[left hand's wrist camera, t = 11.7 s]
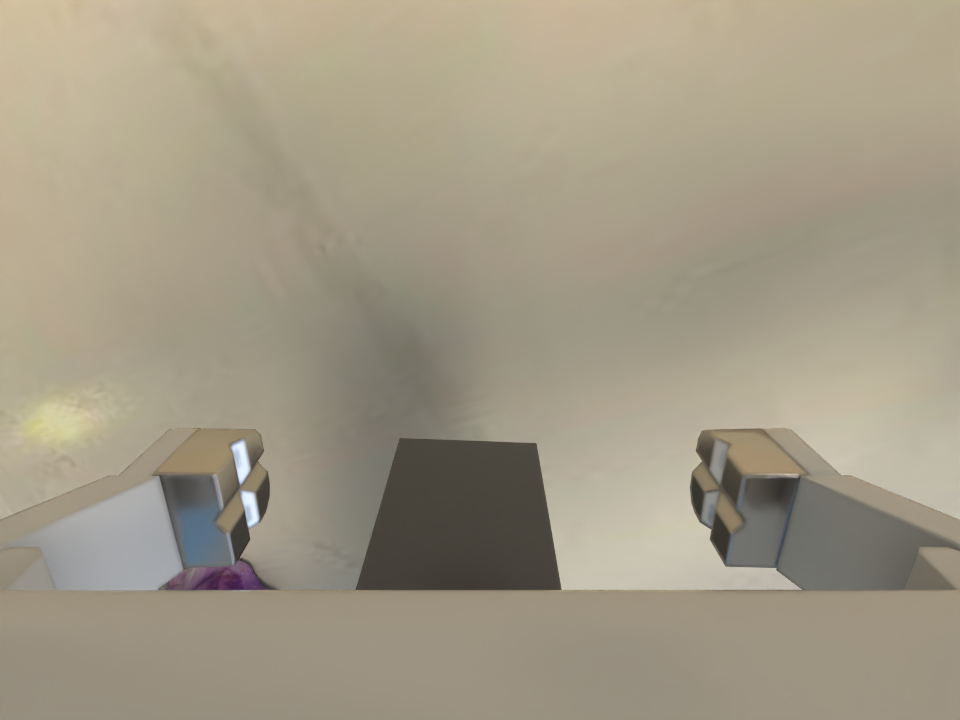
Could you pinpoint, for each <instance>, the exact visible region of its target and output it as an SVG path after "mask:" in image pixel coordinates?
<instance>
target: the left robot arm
mask: <svg viewBox="0 0 960 720" xmlns="http://www.w3.org/2000/svg"><path fill="white" fill-rule="evenodd" d="M263 452H264V448H263V443H262V438H261V435H260V434H259V433H258V431H257V430H256V429H201V428H179V429H169V430H168V431H167V432H166V433H165V434H164V435H162V436H161V437H160V438H159V439H158V440H157V441H156V442H155V443H154V444H153V445H151V446H150V447H149V448H148V449H147V450H146V451H145V452H144V453H143V454H142V455H140V456H139V457H138V458H137V459H136V460H135V461H134V462H133V463H132V464H131V465H130V466H128V467H127V468H126V469H125V470H124V471H123V472H122V473H121V474H120V475H119V476H107V477H105V478H102V479H100V480H97V481H95V482H92V483H90V484H87V485H85V486H82V487H80V488H78V489H75V490H73V491H70V492H68V493H65V494H63V495H60V496H58V497H55V498H53V499H50V500H48V501H45V502H43V503H40V504H38V505H35V506H33V507H31V508H28V509H26V510H23V511H21V512H18V513H16V514H13V515H11V516H8V517H6V518H3V519H1V520H0V720H960V520H959V519H956V518H954V517H951V516H949V515H947V514H944V513H942V512H939V511H937V510H934V509H932V508H929V507H927V506H924V505H922V504H919V503H917V502H914V501H912V500H910V499H907V498H905V497H902V496H900V495H897V494H895V493H892V492H890V491H887V490H885V489H882V488H880V487H877V486H875V485H873V484H870V483H868V482H865V481H863V480H860V479H858V478H855V477H853V476H842V475H840V474H839V473H838V472H837V471H836V470H835V469H834V468H833V467H832V466H831V465H829V464H828V463H827V462H826V461H825V460H824V459H823V458H822V457H821V456H820V455H819V454H817V453H816V452H815V451H814V450H813V449H812V448H811V447H810V446H809V445H808V444H806V443H805V442H804V441H803V440H802V439H801V438H800V437H799V436H798V435H797V434H796V433H794V432H793V431H792V430H790V429H787V428H768V429H762V428H759V429H717V430H704V431H702V432H701V434H700V436H699V438H698V442H697V447H696V452H697V454H698V455H699V457H700V458H701V460H702V462H701V463H700V464H699V465H698V466H697V467H696V468H695V469H694V470H693V471H692V477H691V484H690V492H691V503H692V506H693V509H694V512H695V514H696V516H697V518H698V520H699V522H700V523H702V524H703V525H705V526H707V527H708V528H710V529H711V536H710V541H711V542H712V544H713V546H714V547H715V549H716V551H717V552H718V554H719V556H720V558H721V559H722V561H723V563H724V564H725V566H727V567H764V568H777V569H776V570H777V571H778V572H780V573H781V574H782V575H784V576H785V577H786V578H788V579H789V580H790V581H792V582H793V583H794V584H796V585H797V586H798V587H800V588H801V589H802V590H158V589H159V588H160V587H162V586H163V585H164V584H166V583H167V582H168V581H170V580H171V579H173V578H174V577H175V576H177V575H178V574H179V573H181V572H182V571H183V570H184V569H183V568H196V567H231V566H235V564H236V563H237V561H238V559H239V558H240V556H241V554H242V553H243V551H244V549H245V547H246V546H247V544H248V542H249V541H250V536H249V529H250V528H252V527H253V526H255V525H257V524H258V523H260V521H261V520H262V518H263V516H264V514H265V512H266V509H267V505H268V501H269V496H270V483H269V476H268V471H267V470H266V469H265V468H264V467H263V466H262V465H261V464H260V463H259V462H258V460H259V458H260V457H261V455H262V454H263Z"/></svg>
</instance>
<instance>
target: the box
mask: <svg viewBox="0 0 960 720" xmlns="http://www.w3.org/2000/svg"><path fill="white" fill-rule="evenodd" d="M356 590H561V584H560V578H559V572H558V566H557V560H556V555H555V549H554V543H553V537H552V531H551V525H550V520H549V514H548V508H547V502H546V496H545V491H544V485H543V479H542V473H541V467H540V461H539V456H538V450H537V444H536V443H515V442H488V441H461V440H434V439H408V438H400V439H399V443H398V446H397V450H396V453H395V457H394V460H393V464H392V467H391V470H390V474H389V477H388V481H387V484H386V488H385V491H384V495H383V498H382V501H381V505H380V508H379V512H378V515H377V519H376V522H375V526H374V529H373V532H372V536H371V539H370V543H369V546H368V550H367V553H366V556H365V560H364V563H363V567H362V570H361V574H360V577H359V581H358V584H357V587H356Z"/></svg>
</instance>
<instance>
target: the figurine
mask: <svg viewBox="0 0 960 720" xmlns="http://www.w3.org/2000/svg"><path fill="white" fill-rule="evenodd" d="M167 590H269V589H267V588H266V587H265V586H264V585H263V584H262V583H261V582H260V581H259V579H258V578H257V576H256V575H255V573H254V572H253V569H252V568H251V567H250V566H249V564H248V563H245V562H243V561H241V560H239V559H238V561H237V563H236V564H235V566H231V567H196V568H187V569H184V570H183V571H182V572H181V573H179V574H178V575H177V576H175V577H174V578H173V579H171V580H170V581H169V584H168V588H167Z"/></svg>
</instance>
